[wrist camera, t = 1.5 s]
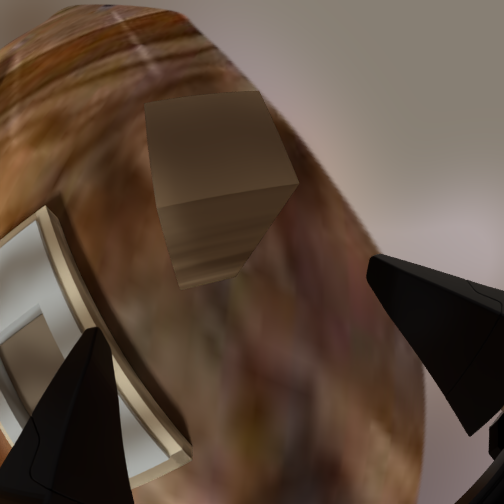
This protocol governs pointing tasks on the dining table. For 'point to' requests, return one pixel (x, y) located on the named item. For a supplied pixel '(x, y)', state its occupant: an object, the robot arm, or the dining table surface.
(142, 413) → the tray
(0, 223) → the dining table surface
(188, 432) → the dining table surface
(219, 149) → the peg
